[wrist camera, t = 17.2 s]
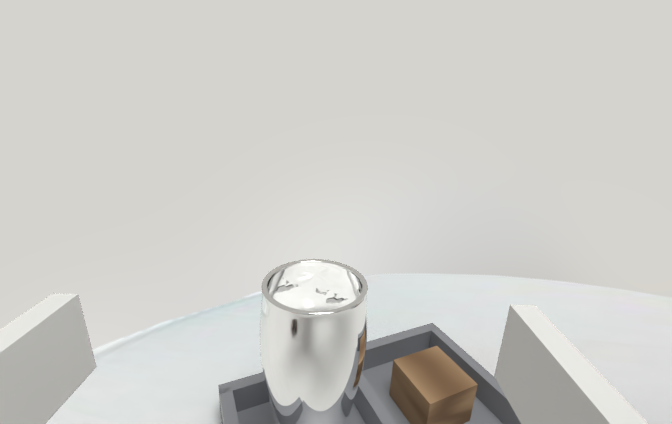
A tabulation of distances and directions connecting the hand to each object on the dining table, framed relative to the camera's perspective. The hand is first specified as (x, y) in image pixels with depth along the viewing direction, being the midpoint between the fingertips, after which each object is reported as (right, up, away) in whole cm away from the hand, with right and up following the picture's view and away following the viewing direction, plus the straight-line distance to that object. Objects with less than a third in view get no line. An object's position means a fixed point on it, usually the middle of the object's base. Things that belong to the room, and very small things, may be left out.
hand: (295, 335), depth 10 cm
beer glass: (-1, -15, +15) cm, 21 cm away
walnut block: (+10, -14, +20) cm, 26 cm away
